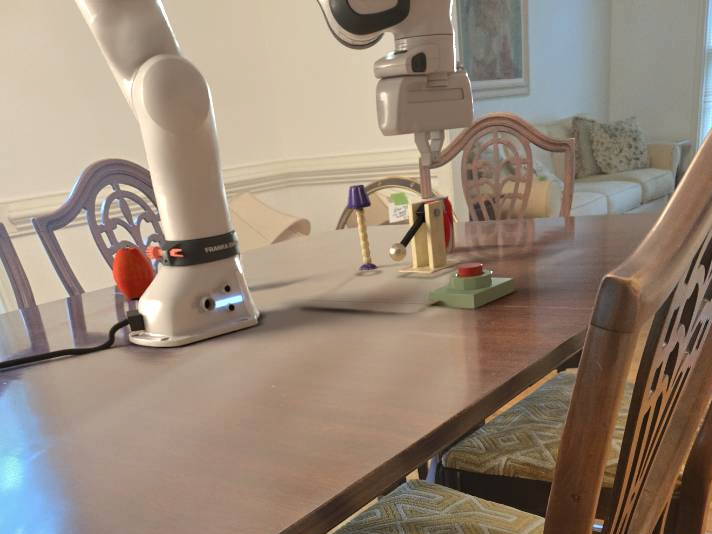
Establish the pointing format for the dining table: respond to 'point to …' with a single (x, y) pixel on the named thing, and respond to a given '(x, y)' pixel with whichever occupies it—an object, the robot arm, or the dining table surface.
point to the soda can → (445, 220)
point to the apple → (132, 272)
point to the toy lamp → (361, 221)
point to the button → (470, 270)
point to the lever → (408, 236)
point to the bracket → (428, 240)
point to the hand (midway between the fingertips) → (431, 164)
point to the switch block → (471, 290)
